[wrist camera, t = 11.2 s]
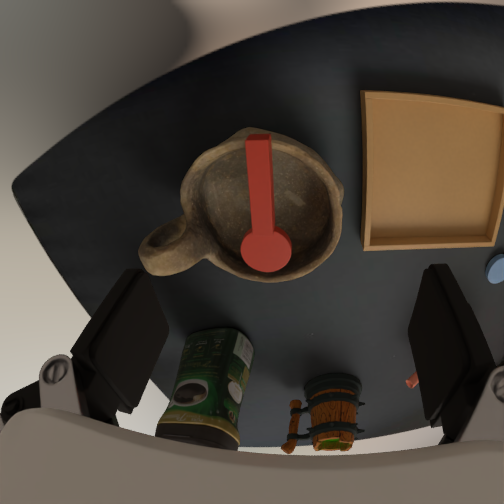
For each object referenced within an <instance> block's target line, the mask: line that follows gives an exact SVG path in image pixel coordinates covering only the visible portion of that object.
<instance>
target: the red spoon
mask: <svg viewBox="0 0 504 504" xmlns="http://www.w3.org/2000/svg"><path fill="white" fill-rule="evenodd" d="M245 149H246V162H247V174H248V186H249V198H250V211H251V223H252V228H251V229H249V230H248V231H247V232H246V233H245V235H244V237H243V240H242V243H241V255H242V257H243V259H244V261H245V262H246V263H247V264H248V265H249V266H250V267H252V268H253V269H256V270H258V271H262V272H273V271H277V270H279V269H281V268H283V267H284V266H285V265H286V264H287V263H288V261H289V260H290V257H291V250H292V244H291V240H290V238H289V236H288V235H287V233H286V232H285V231H284V230H282V229H281V228H279V227H277V226H275V206H274V184H273V163H272V144H271V134H250V135H249V136H248V137H247V139H246V140H245Z"/></svg>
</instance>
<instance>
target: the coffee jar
mask: <svg viewBox="0 0 504 504" xmlns="http://www.w3.org/2000/svg"><path fill="white" fill-rule="evenodd" d="M254 355H255V353H254V349H253V346H252V344H251V342H250V341H249V339H248V338H247V337H246V336H245V335H244V334H243V333H241V332H240V331H238V330H236V329H234V328H227V327H226V328H214V329H208V330H203V331H199V332H195V333H193V334H191V335H189V336H188V338H187V339H186V342H185V345H184V349H183V352H182V357H181V361H180V366H179V370H178V374H177V378H176V381H175V385H174V389H173V393H172V396H171V399H170V402H169V405H168V407H167V409H166V411H165V412H164V414H163V415H162V417H161V418H160V420H159V421H158V424H157V428H156V433H155V437H159V438H164V439H168V440H173V441H178V442H183V443H188V444H193V445H199V446H205V447H211V448H218V449H225V450H233V451H237V450H238V447H239V444H240V436H239V432H238V429H237V423H238V416H239V411H240V407H241V403H242V399H243V396H244V392H245V389H246V385H247V382H248V379H249V375H250V372H251V369H252V365H253V361H254Z"/></svg>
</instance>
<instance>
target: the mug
mask: <svg viewBox="0 0 504 504" xmlns="http://www.w3.org/2000/svg"><path fill="white" fill-rule="evenodd" d="M361 391H362V385H361V383H360V380H359V379H357V378H356V377H354V376H352V375H348V374H343V373H335V374H326V375H322V376H318V377H316V378H314V379H312V380H310V381H309V382H308V384H307V385H306V386H305V398H306V399H307V400H306V402H307V403H308V407H305V408H303V409H300V408H301V404H302V403H301V401H300V400H293V401H291V402H290V405H289V406H290V407H291V411H290V414H291V416H292V418H291V420H290V425H289V434H288V435H287V441H288V442H286V443H285V444H283V445H282V447H281V449H282V450H283V451H284V452H285V453H287V454H290V453H292V452H293V451H294V449H295V446H296V443H297V441H298V440H309V439H311V440H312V441H313V442H312V444H313V447H314V449H315V451H319V450H326V451H332V450H340V451H348V450H349V449H350V448H351V447H352V444H353V442H354V439H358V438H357V437H356V436H357V434H358V433H361V432H364V430H362V429H358V428H357V426H356V425H358V424H357V423H355V421H356V414H358V412H357V410H358V408H359V406H361V405H365V403H362V402H359V397H360V394H361ZM304 413H309V414H310V415H311V424H312V428H307V430H309V433H307V434H304V435H298V434H297V431H298V424H299V418H300V416H301V415H302V414H304Z"/></svg>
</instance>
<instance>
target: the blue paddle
mask: <svg viewBox="0 0 504 504" xmlns="http://www.w3.org/2000/svg"><path fill="white" fill-rule="evenodd" d="M485 273H486V277H487V278H488V280H489V281H490V282H491V283H499V282H501V281H503V280H504V254H499V255H496V256H495V257H493V258H492V259H491V260H490V262H489V263H488V265H487V267H486V271H485Z"/></svg>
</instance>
